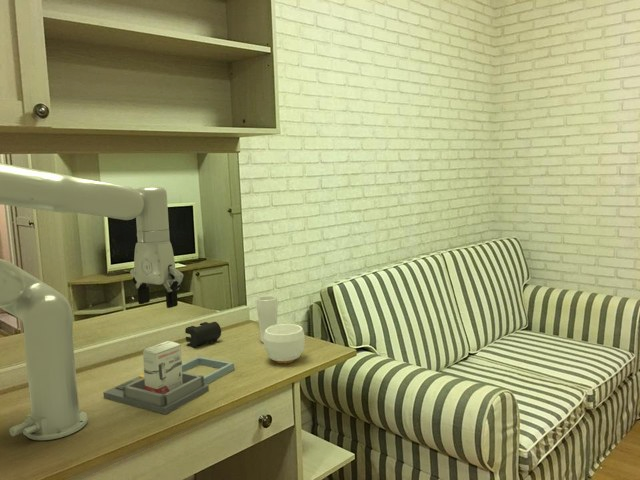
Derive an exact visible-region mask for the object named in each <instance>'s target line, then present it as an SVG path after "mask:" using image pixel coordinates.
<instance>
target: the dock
mask: <svg viewBox="0 0 640 480" xmlns="http://www.w3.org/2000/svg"><path fill="white" fill-rule="evenodd" d="M204 376H205V375H200V374H195V373H190V372H186V371H185V372H182V381H183V385H181V386H179V387H177V388H175V389H173V390H171V391H169V392H167V393H165V394H160V393H155V392H151V391H147V390H145V379H144V373H143V374H141V375H139V376H136V377H134V378H133V379H130V380H127V381H126V382H124V383H121V384H118V385H116V386H114V387H112V388H110V389H107V390H105V391H103V393H102V394H103V398H104V399H106V400H107V399H108V400H110V401H114V402H117V403H121V404H126V405H129V406H133V407H137V408H141V409H144V410H147V411H151V412H155V413H159V414H162V415H168V414H170V413H171V412H173V411H175V410H177V409H180V407H182V406H184V405H186V404H187V403H189V402H191V401H193V400H195V399H197V398H199V397H200V396H202V395H204V394H205V393H207V392H209V391H210V390H209V384H207V385H205V384H204Z"/></svg>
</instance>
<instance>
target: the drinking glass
mask: <svg viewBox="0 0 640 480" xmlns="http://www.w3.org/2000/svg"><path fill="white" fill-rule="evenodd" d="M256 310H257V311H256V312H257V318H258V325H259V332H260V333H259V335H260V342H261V343H263V344H264V333H265V330H266V329H267V328H268V327H270V326H274V325H278V299H277V296H275V295H262V296H259V297H257V298H256Z"/></svg>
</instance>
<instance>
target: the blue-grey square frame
mask: <svg viewBox="0 0 640 480" xmlns="http://www.w3.org/2000/svg"><path fill="white" fill-rule="evenodd" d="M199 365H200V366H206V367H210V368H215V369H216V370H214V371H213V372H210V373H208V374H206V375H203V376H204V384H205V385H209V384H210V383H213V382H215V381H217V380H218V379H220V378H222V377H224V376H225V375H228V374H229V373H231V372H233V371H235V363H234V362H231V361H224V360H220V359H219V360H218V359H213V358H209V357H204V356H203V357H202V356H197V357H193V359H190V360H188V361H186V362H183V363H182V372H186V371H189V370H191V369H193V368H195V367H197V366H199Z"/></svg>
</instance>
